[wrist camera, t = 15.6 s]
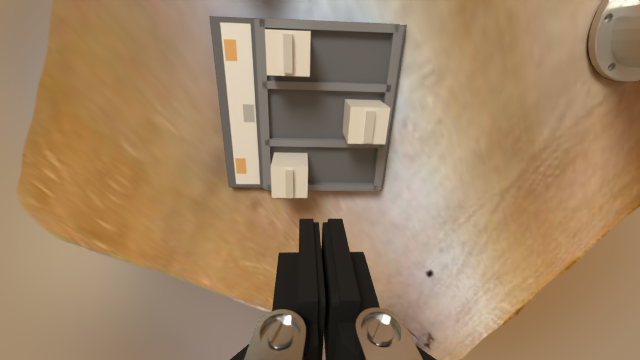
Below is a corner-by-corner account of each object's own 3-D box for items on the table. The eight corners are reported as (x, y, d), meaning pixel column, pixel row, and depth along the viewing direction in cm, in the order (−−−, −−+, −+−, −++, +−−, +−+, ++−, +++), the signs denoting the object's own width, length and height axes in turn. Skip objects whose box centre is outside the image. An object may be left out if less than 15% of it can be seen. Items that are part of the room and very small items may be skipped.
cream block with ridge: (379, 100, 33) (392, 109, 28) (375, 132, 34) (386, 146, 30) (344, 99, 32) (351, 108, 28) (342, 131, 34) (348, 145, 29)
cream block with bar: (309, 32, 29) (310, 30, 25) (308, 72, 31) (309, 77, 26) (270, 31, 29) (264, 28, 24) (271, 71, 31) (266, 75, 26)
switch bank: (403, 25, 31) (409, 24, 29) (381, 185, 39) (384, 191, 37) (212, 17, 29) (207, 15, 28) (230, 183, 37) (227, 190, 36)
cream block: (307, 153, 35) (308, 169, 30) (306, 181, 36) (307, 200, 32) (274, 152, 35) (269, 168, 30) (275, 180, 36) (271, 200, 32)
